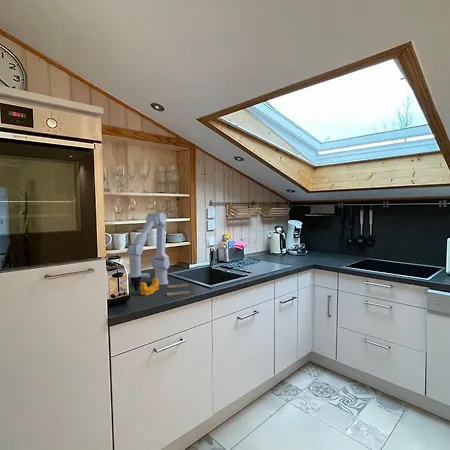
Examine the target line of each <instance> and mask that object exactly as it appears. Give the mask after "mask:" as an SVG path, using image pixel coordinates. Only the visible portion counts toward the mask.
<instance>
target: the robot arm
mask: <svg viewBox="0 0 450 450" xmlns="http://www.w3.org/2000/svg"><path fill="white" fill-rule="evenodd" d="M145 220H146V221H145V223H144V226H143V227H142V230H141V232H140V233H137V235H136V237H135V238H134V240H133V242H132V243H131V244H130V245H129V246H128V247H127V249H126V253H127V254H128V258H129V271H130V272H129V273H128V278H127V279H130V283H131V284H132V287H133V289H134V292H138V290H139V287H140V283H141V279H142V278H150V276H151V275H150V273H147V272H146V273H142V263H141V259H142V258H141V255H142V254H143V251H144V245H145V243H146V242H147V239H148V237H147V236H148V234H149V233H150V231H151V229H152V228H153V227H155V228H156V244H155V245H156V249H155V250H156V252H155V254H154V255H153V256H152V261H151V267H152V268H153V270H154V274H155V275H154V278H158V281H159V286H163V285H164V286H165V285H166V286H168V285H169V280H168V269H169V268H170V265H171V262H170V257H169V255H167V254H166V225H167V215H165V213H164V212H148V213H147V215H146V217H145Z"/></svg>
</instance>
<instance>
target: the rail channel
mask: <svg viewBox="0 0 450 450" xmlns="http://www.w3.org/2000/svg"><path fill="white" fill-rule="evenodd" d="M175 288H177V289H178V288H189V284H187V283H185V284H173V285H172V284H171V285H169V284H167V289H175ZM183 295H184V296H185V295H190V291H174V292H172V291H171V292H166V296H183Z"/></svg>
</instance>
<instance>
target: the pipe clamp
mask: <svg viewBox="0 0 450 450" xmlns="http://www.w3.org/2000/svg"><path fill="white" fill-rule="evenodd" d="M159 286H160V285H159V281H158V278H155V277H154V278H152V281H151V285H150V286H148V285H147V282H139V288H140V289H139V290H140V295H141V296H142V295H143V296H148V295H152V294H154V293H155V292H156V291H158V290H160V287H159Z"/></svg>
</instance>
